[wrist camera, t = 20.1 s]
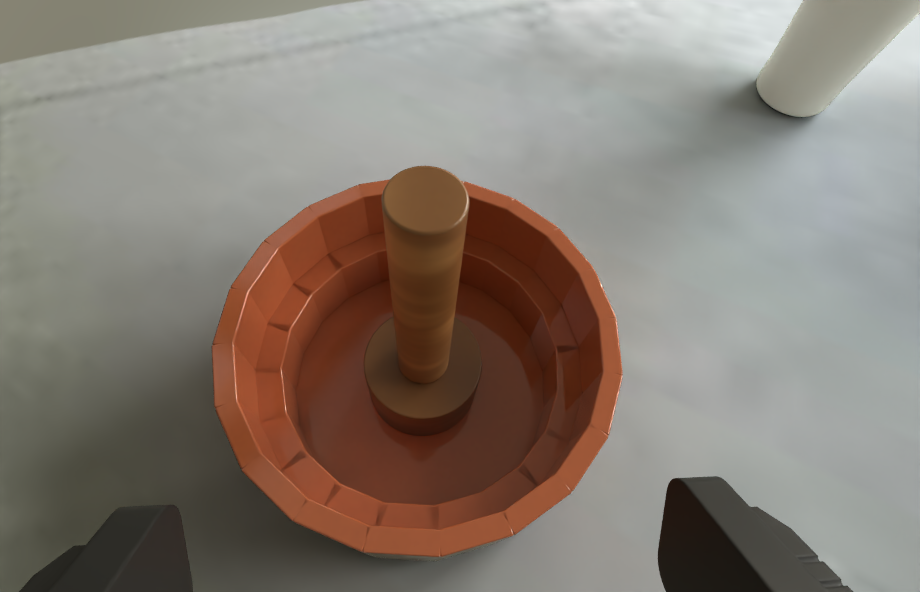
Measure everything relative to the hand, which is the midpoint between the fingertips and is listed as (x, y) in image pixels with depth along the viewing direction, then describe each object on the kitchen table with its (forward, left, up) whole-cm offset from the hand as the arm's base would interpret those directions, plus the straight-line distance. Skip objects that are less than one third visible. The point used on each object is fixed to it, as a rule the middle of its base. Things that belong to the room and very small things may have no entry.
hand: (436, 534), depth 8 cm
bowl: (+4, +7, -15) cm, 17 cm away
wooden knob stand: (+4, +7, -15) cm, 17 cm away
